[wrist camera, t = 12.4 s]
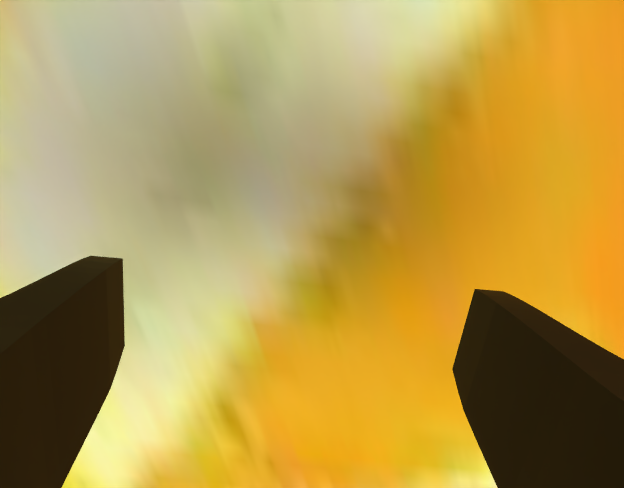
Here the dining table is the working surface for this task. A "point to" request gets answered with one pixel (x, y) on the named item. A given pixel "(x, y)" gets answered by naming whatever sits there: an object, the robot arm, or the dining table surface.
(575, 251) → the dining table surface
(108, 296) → the robot arm
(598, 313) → the dining table surface
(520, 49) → the dining table surface
